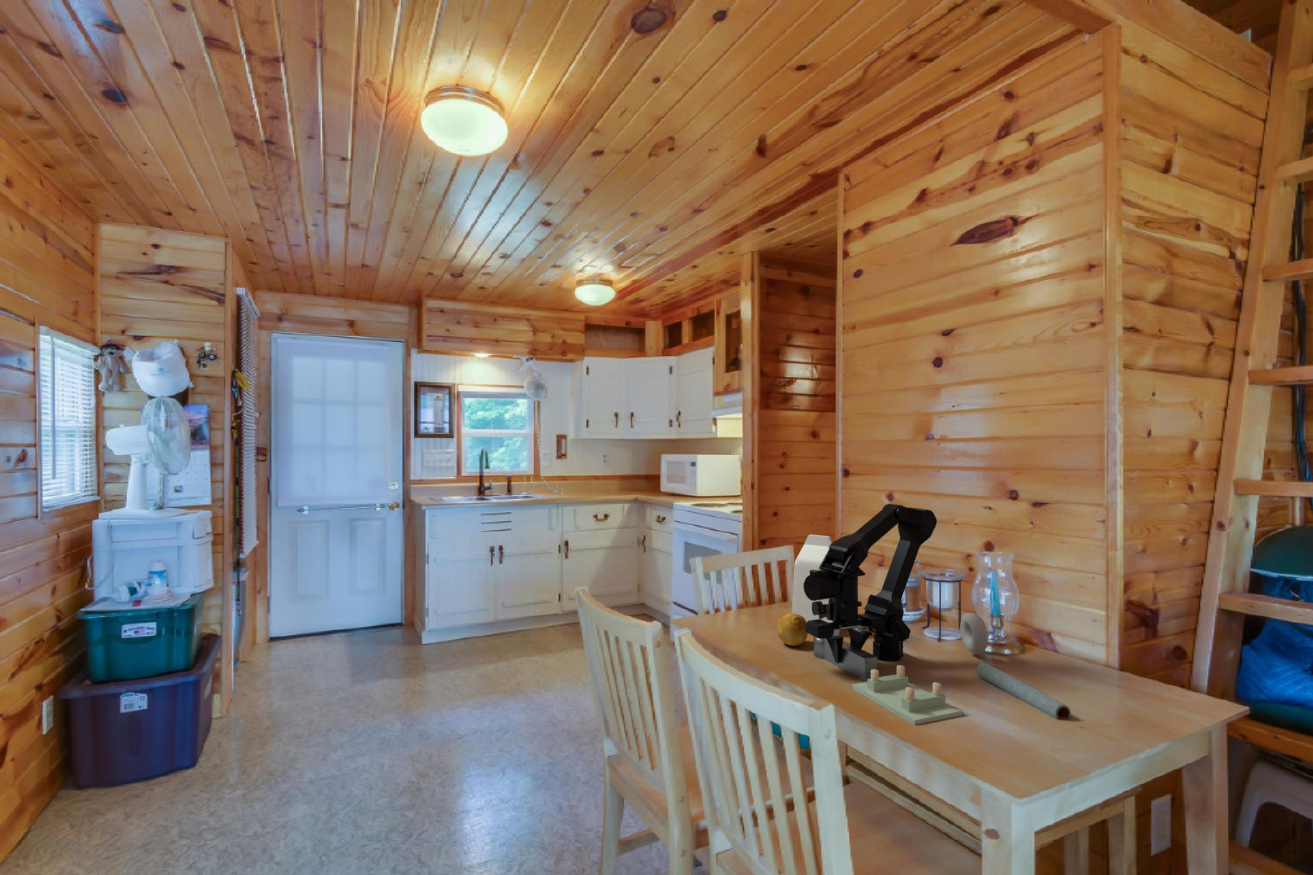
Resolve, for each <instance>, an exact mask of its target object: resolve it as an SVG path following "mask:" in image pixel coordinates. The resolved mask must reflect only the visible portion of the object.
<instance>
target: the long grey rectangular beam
mask: <svg viewBox="0 0 1313 875" xmlns="http://www.w3.org/2000/svg"><path fill="white" fill-rule="evenodd" d="M813 656H814V657H815V658H818V659H822V660H825V661H827V662H829V663H831V664H833V665H834V666H836V667H838V668H840V669H842V670H843V671H845V672H847V673H849V674H850V675H853V676H855V677H856V678H858V679H860V680H862V681H863V682H867V679H871V670H872V669H876V670H878V660H877V657H876V656H874V655H873V653H870V652H868V651H866V650H864V649H863V648H862V649H860V648H858V647H856V646H854V645H852V644H850V642H847V641H845V640H843V645H842V653H841V659H840V663H839V664H837V663H836V662H835V660H834V657H833V654H832V651H831V648H830V646H829V644H828V641H827V640H826V638H825V639H818V638H816V637H814V636H813Z"/></svg>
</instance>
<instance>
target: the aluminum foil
mask: <svg viewBox="0 0 1313 875" xmlns="http://www.w3.org/2000/svg"><path fill="white" fill-rule="evenodd" d="M976 673H977V676H978V677H980V678H982V679H983V680H985V681H986V682H989V683H990V684H992V685H994V686H996V687H997V688H999V689H1001V690H1002V691H1004V692H1007V693H1008V694H1010V695H1011V696H1013V697H1015V698H1017V699H1019V700H1020V701H1022V702H1024V703H1026V704H1027V705H1030V706H1032V707H1034V708H1036V709H1037V710H1039V711H1041V712H1042V713H1045V714H1047V715H1048V716H1050V717H1052V718H1054V719H1056V720H1058V719H1059V720H1061V718H1060V717H1059V716H1061V717H1063V718H1065V719H1070V718H1071V715H1072V714H1071V713H1072V712H1071V708H1070V707H1069V705H1067V704H1065V703H1062V702H1060V701H1059V700H1057V699H1055V698H1053V697H1052V696H1049V695H1047V694H1046V693H1043V692H1042V691H1040V690H1037V689H1036V688H1034V687H1033V686H1030V685H1029V684H1027V683H1025V682H1023V681H1021V680H1019V679H1017V678H1015V677H1014V676H1011V675H1010V674H1008V673H1005V672H1004V671H1002V670H1000V669H998V668H996V667H995V666H993V665H991V664H989V663H987V662H981V663H979V664H978V666H977V667H976Z"/></svg>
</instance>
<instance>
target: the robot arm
mask: <svg viewBox="0 0 1313 875" xmlns="http://www.w3.org/2000/svg"><path fill="white" fill-rule="evenodd" d="M937 524H938V519H937V517H936V514H935V513H934V512H933V511H932V510H931V509H926V508H918V507H910V506H904V505H902V504H898V503H897V504H896V503H887V504H884V505H883V507H882V509H881V510H880V511H879V512H877V513H876V514H875V515H874V516H873V517H871V518H870V519H869V520H868V521H866V523H865V524H863V525H862V526H860V528H859V529H857V530H856V531H855V532H853V533H851V534H848V535H844V536H842V537H841V536H840V537H839V538H838V539H836V540H834V541H832V543H831V545H830V546H829V550H828V552H827V554H826V555H825V557H824V559H823V561H822V563H821V565H820V566H819V569H821V570H810V575H809V576H807V577H806V579H805V582H804V583H803V587H804V592H805V594H806V596H807V597H808V599H810V600H811V601H816V602H812V613H813V615H819V619H816V620H808V621H807V623H806V624H805V632H806V633H808V635H810V636H813V638H814V637H816V638H818V639H825V638H826V640H827V641H828V644H829V646H830V648H831V651H832V654H833V657H834V660H835V662H836V663H837V664H839V663H840V659H841V653H842V645H843V641H844V637H843V636H841V635H840V632H839V630H841V631H845V630H847V632H848V635H849V643H850V644H852V645H854V646H856V647H858V648H860V649H862V650H863V648H864V645H865V644H866V642H867V640H868V639H869V638H870V637H871V636H873V641H872V655H874V656H876V657H877V661H880V662H884V661H887V662H897V661H901V659H903V658H904V642H905V641H906V640H909V639H910V635H911V629H910V628H909V626H908V625H907V624H906V622H905V621H904V620H903V617H904V615H905V614H904V613H905V611H904V607H903V601H902V600H903V599H902V598H903V596H904V592H905V590H906V587H907V584H908V581H909V579H910V576H911V573H912V570H913V568H914V565H915V563H916V562H915V561H916V559H917V556H918V554H919V551H920V548H921V546H922V545H923V544H924V543H926V541H928V540H929V539H930V538H931V536H933V533H934V530H935V529H936V527H937ZM896 526H897V530H898V534H899V540H898V542H897V546H896V549H895V551H894V554H893V556H892V560H891V561H890V565H889V567H888V570H887V573H886V576H885V579H884V581H883V585H882V587H881V590H880V591H879V592H878V593H877V594H872V593H871V594H870V595H869V596H868V598H867V603H866V605H865V607H863V610H864V613H859V607H862V606H863V604H862V601H861V600H859V577H864V576H866V572H865V571H864V570H862V569H861V567H860V566H861V565H862V564H864V562H865V561H866V559H867V558H868V555H869V551H870V549H871V548H872V547H873V546H874V545H875V544H876V543H877V542H879V540H882V538H883V537H884V536H885V535H887V534H888V533H889V532H890V531H891V530H892V529H894V528H895V527H896ZM832 564H836V565H839V566H843V567H839V566H835V565H832ZM823 599H829V603H828V604H824V605H823V603H822V601H817V600H823ZM824 617H827V619H828V620H832V621H833V622H832V623H828V622H826V621H824V620H821V619H823V618H824ZM842 625H843V626H842ZM873 634H874V635H873Z"/></svg>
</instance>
